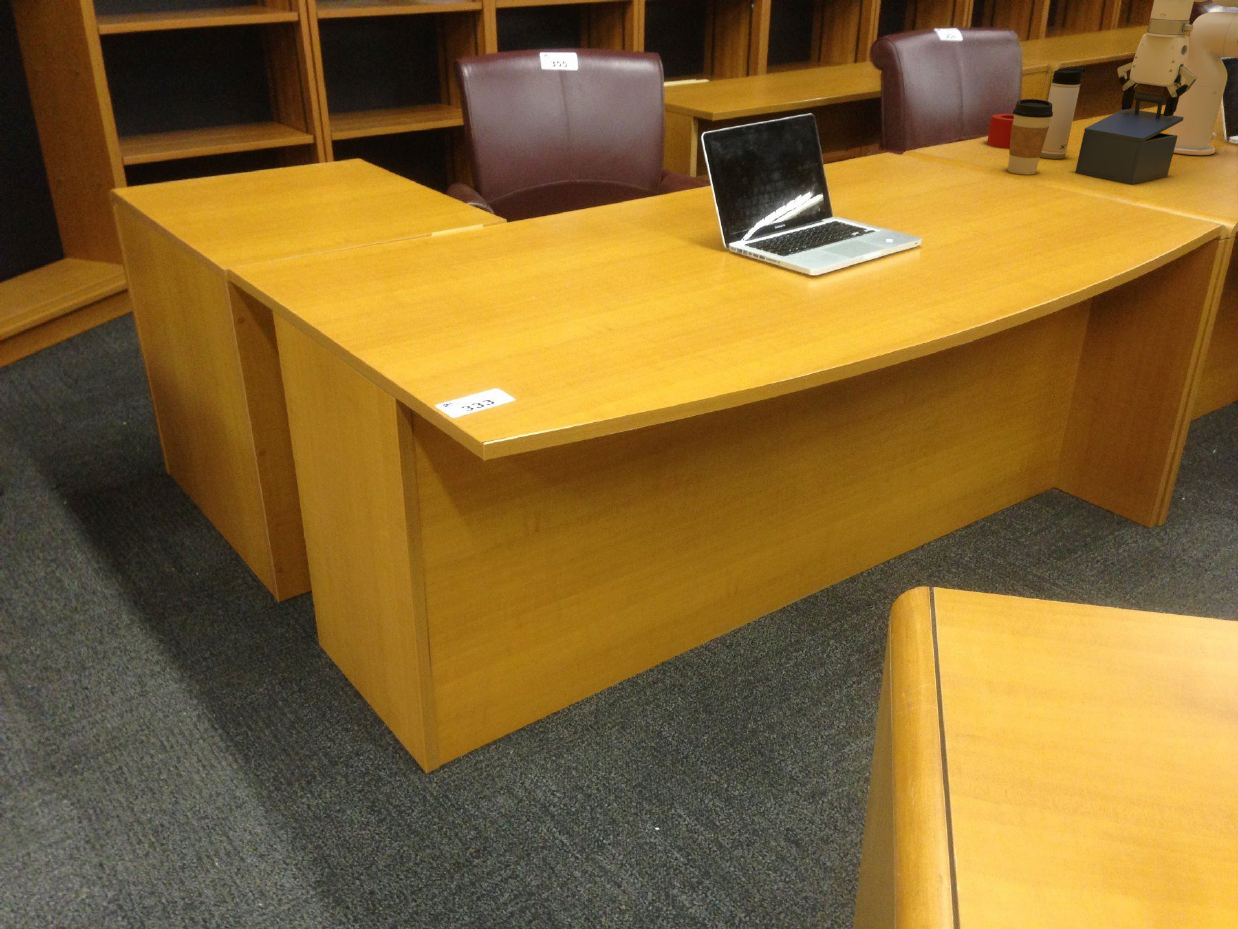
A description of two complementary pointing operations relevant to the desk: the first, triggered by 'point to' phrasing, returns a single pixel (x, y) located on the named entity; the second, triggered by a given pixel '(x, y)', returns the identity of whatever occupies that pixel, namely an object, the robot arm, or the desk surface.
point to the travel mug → (1061, 111)
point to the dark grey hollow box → (1126, 157)
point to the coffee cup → (1028, 135)
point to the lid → (1136, 121)
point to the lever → (1000, 130)
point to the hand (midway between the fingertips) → (1146, 112)
